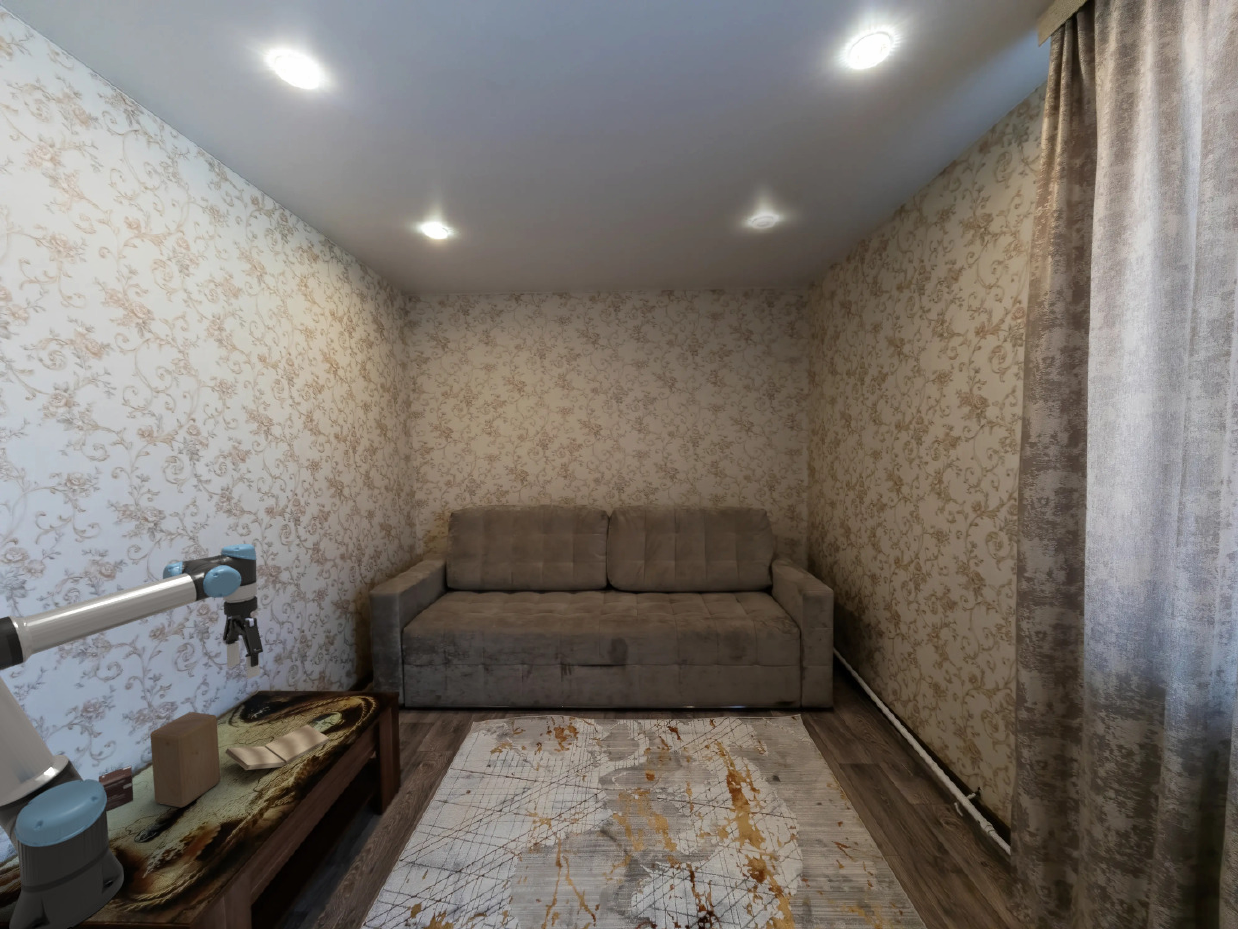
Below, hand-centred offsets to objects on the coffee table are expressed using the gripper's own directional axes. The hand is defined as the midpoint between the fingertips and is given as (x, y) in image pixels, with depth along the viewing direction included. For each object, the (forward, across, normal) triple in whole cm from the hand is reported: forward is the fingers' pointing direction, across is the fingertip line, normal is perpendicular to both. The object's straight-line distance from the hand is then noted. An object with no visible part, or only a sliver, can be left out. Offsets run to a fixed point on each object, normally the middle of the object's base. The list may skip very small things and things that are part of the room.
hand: (243, 670), depth 132 cm
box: (+31, +17, +23) cm, 42 cm away
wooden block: (+30, +4, +12) cm, 33 cm away
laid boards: (+30, 0, -13) cm, 33 cm away
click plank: (+28, 0, -2) cm, 28 cm away
